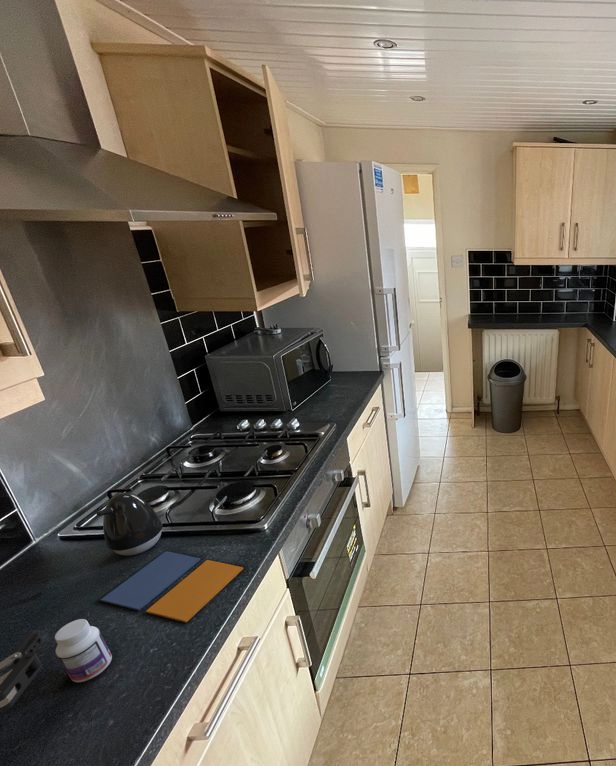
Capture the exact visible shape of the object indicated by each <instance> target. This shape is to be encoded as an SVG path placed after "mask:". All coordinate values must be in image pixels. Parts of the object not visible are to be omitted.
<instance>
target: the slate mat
mask: <svg viewBox="0 0 616 766" xmlns="http://www.w3.org/2000/svg"><path fill="white" fill-rule="evenodd" d="M200 561H201V558H200V557H195V556H190V555H186V554H181V553H177V552H172V551H167V550H166V551H164V552H163V553H161V554H160V555H159V556H158V557H156V558H155V559H152V561H150V562H149V563H147V564H146V565H145V566H144V567H143V568H141V569H139V571H137V572H135V573H134V574H133V575H132V576H130V577H129V578H128V579H126V580H125V581H124V582H122V583H121V584H119V585H118V586H117V587H115V588H114V589H113V590H111V591H110V592H109V593H107V594H106V595H105V596H103V597H102V598H100V601H101V602H103V603H107V604H111V605H115V606H118V607H123V608H127V609H130V610H135V611H140V610H142V609H143V608H144V607H145V606H146V605H148V604H149V603H150V602H151V601H152V600H154V599H155V598H156V597H157V596H159V595H160V594H162V592H163V591H165V590H166V589H167V588H169V587H170V586H171V585H172V584H174V582H176V581H177V580H178V579H179V578H181V577H182V576H183V575H185V573H186V572H188V571H189V570H190V569H191V568H193V567H194V566H195V565H196V564H198V562H200Z"/></svg>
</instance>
